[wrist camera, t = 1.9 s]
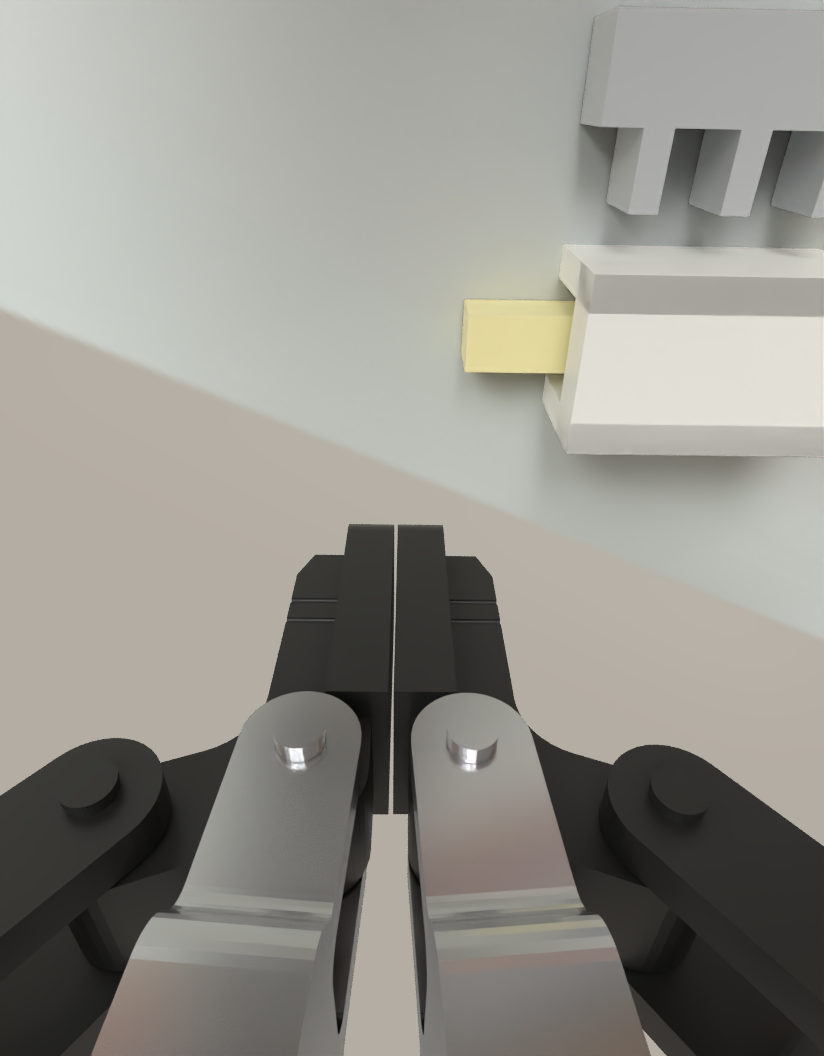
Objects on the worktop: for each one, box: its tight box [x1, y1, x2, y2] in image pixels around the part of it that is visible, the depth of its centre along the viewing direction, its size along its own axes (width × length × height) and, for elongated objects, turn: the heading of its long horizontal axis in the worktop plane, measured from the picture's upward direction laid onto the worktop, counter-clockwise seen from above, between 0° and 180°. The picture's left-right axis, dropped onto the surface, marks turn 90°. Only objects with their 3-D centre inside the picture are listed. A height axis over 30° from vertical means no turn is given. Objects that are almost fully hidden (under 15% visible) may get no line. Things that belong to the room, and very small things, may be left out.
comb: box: [580, 6, 824, 218], centre depth 17 cm, size 4×8×2 cm, turn 89°
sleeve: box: [542, 244, 824, 457], centre depth 20 cm, size 5×8×4 cm, turn 89°
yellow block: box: [461, 299, 575, 374], centre depth 21 cm, size 2×22×2 cm, turn 89°
